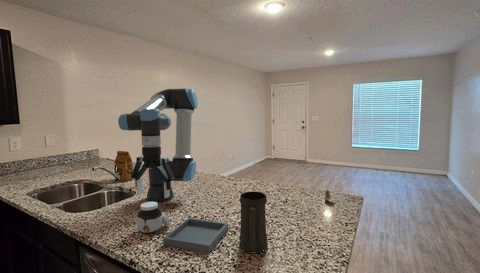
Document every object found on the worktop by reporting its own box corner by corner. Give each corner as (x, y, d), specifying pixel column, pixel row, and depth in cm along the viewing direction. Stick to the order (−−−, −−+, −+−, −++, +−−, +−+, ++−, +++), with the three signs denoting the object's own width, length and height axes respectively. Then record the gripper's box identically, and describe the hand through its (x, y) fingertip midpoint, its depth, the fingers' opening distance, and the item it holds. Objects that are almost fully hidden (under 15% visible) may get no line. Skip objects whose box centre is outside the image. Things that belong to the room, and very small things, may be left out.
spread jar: (134, 232, 107) (133, 205, 106) (152, 222, 118) (151, 197, 117) (157, 237, 103) (156, 209, 102) (174, 226, 113) (173, 200, 112)
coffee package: (125, 182, 184) (123, 152, 182) (113, 180, 190) (111, 151, 187) (136, 179, 193) (134, 150, 191) (125, 177, 198) (123, 149, 196)
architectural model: (332, 201, 143) (332, 188, 142) (331, 206, 137) (331, 192, 136) (325, 201, 144) (325, 188, 144) (324, 205, 138) (324, 191, 137)
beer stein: (237, 238, 101) (237, 190, 98) (264, 237, 102) (265, 189, 99) (241, 263, 86) (241, 208, 83) (272, 261, 87) (273, 206, 84)
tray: (163, 245, 97) (163, 237, 96) (188, 224, 115) (188, 217, 114) (209, 253, 91) (209, 245, 91) (228, 230, 109) (228, 223, 109)
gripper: (120, 146, 107) (122, 195, 109) (172, 148, 99) (173, 201, 101) (133, 144, 114) (135, 190, 116) (182, 145, 106) (183, 195, 108)
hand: (153, 195), depth 108 cm, fingers open, 13 cm apart
